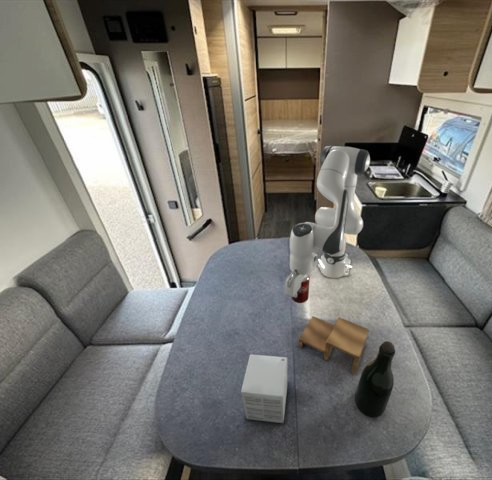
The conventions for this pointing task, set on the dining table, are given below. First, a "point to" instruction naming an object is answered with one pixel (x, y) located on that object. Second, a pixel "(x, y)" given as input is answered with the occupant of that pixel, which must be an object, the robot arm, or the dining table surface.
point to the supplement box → (265, 388)
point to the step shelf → (335, 338)
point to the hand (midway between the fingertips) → (300, 289)
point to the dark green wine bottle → (376, 383)
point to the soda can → (303, 291)
